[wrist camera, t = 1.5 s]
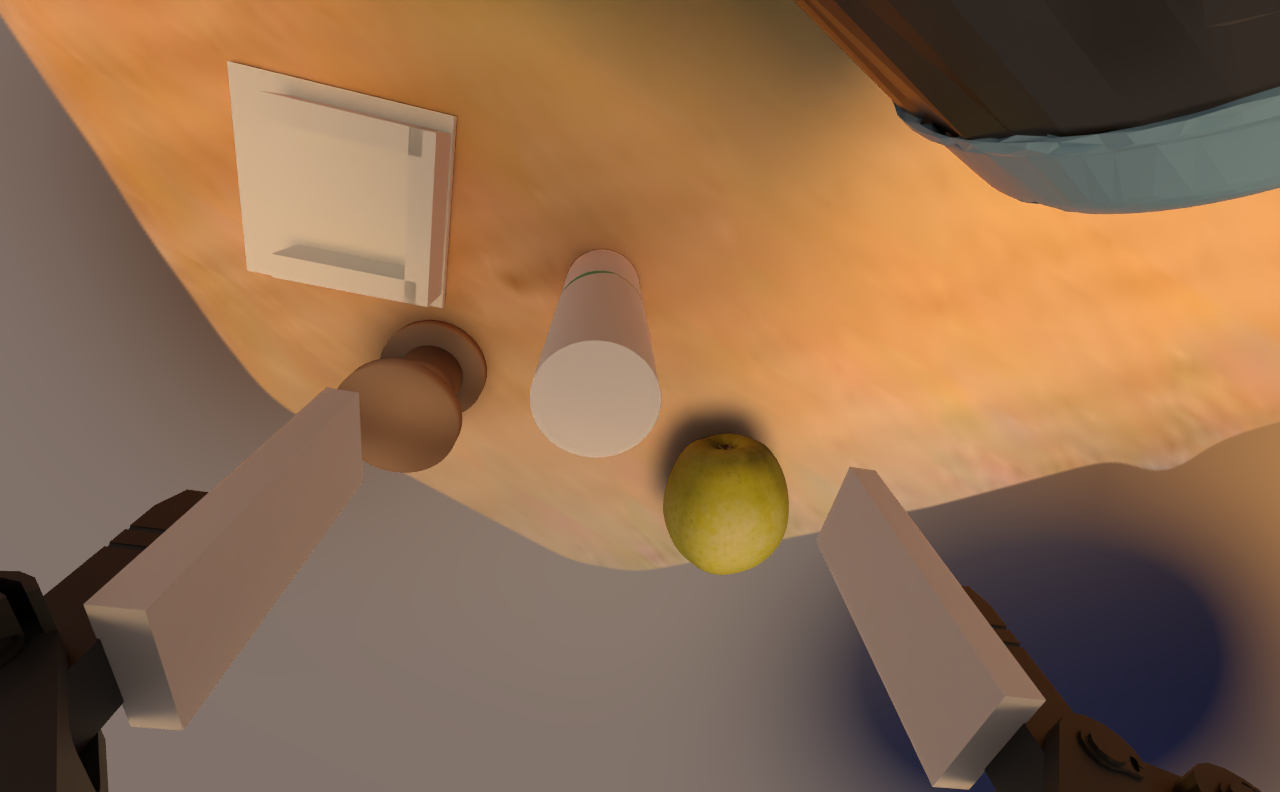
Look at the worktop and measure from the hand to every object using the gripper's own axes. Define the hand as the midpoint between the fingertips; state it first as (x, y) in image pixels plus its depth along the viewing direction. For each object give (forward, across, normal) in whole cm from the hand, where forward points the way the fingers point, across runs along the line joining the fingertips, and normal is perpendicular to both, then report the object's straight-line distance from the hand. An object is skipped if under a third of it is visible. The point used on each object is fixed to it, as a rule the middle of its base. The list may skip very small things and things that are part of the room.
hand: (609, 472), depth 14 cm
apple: (+19, +9, -11) cm, 24 cm away
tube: (+19, -1, 0) cm, 19 cm away
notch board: (+18, -15, +2) cm, 24 cm away
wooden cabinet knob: (+18, -10, -7) cm, 22 cm away
